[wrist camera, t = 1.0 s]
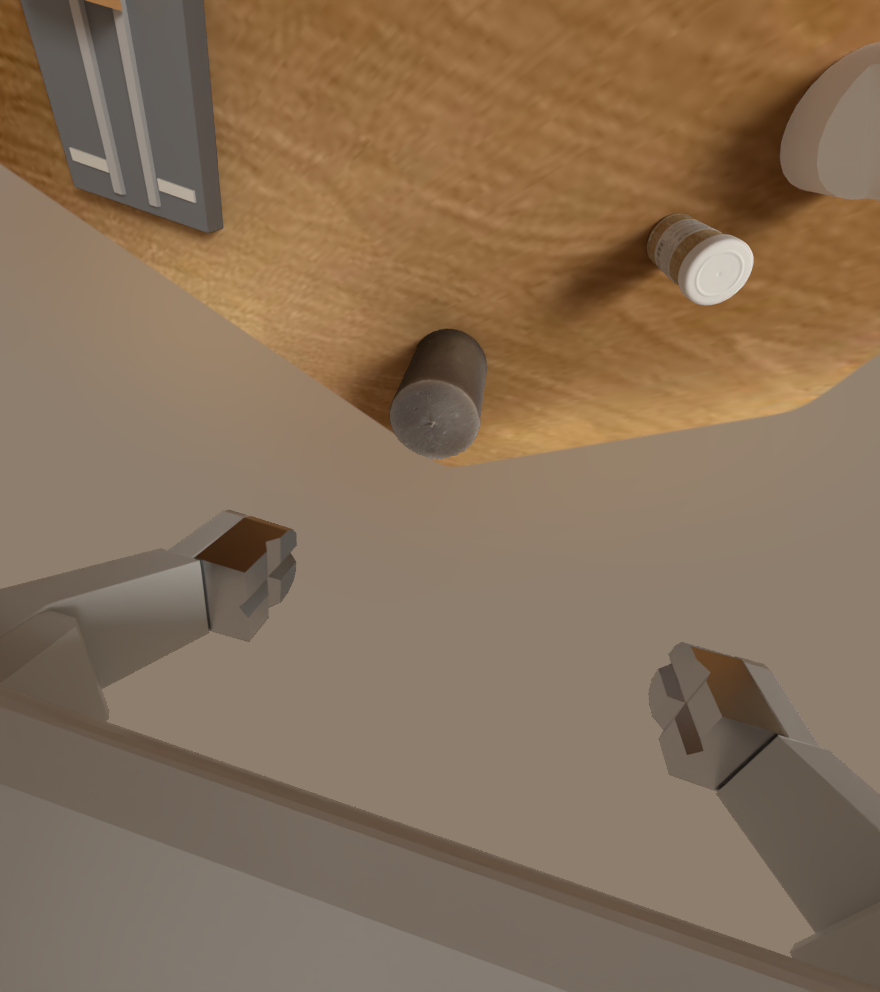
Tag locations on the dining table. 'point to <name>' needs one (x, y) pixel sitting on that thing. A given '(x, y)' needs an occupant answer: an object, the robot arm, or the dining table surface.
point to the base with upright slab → (838, 130)
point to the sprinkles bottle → (699, 258)
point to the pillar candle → (441, 395)
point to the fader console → (133, 102)
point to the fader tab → (108, 3)
